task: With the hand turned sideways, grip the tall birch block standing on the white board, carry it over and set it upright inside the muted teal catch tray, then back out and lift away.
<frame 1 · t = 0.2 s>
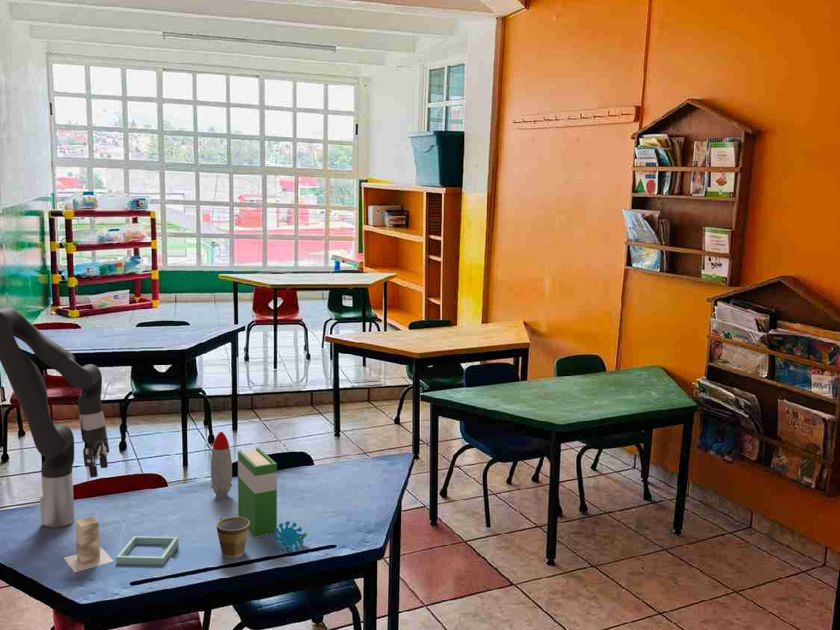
hand: (99, 472, 246), 18 cm above the table, tool pointing down, fingers open, 8 cm apart
ceramic cup: (230, 552, 231), on the table
toy rocket: (221, 497, 274), on the table
white board: (88, 564, 221), on the table
teal virus model: (290, 548, 236), on the table
hardback book: (257, 525, 251), on the table
catch tray: (148, 557, 226), on the table
birch block: (88, 559, 221), point 1 cm above the table, touching white board
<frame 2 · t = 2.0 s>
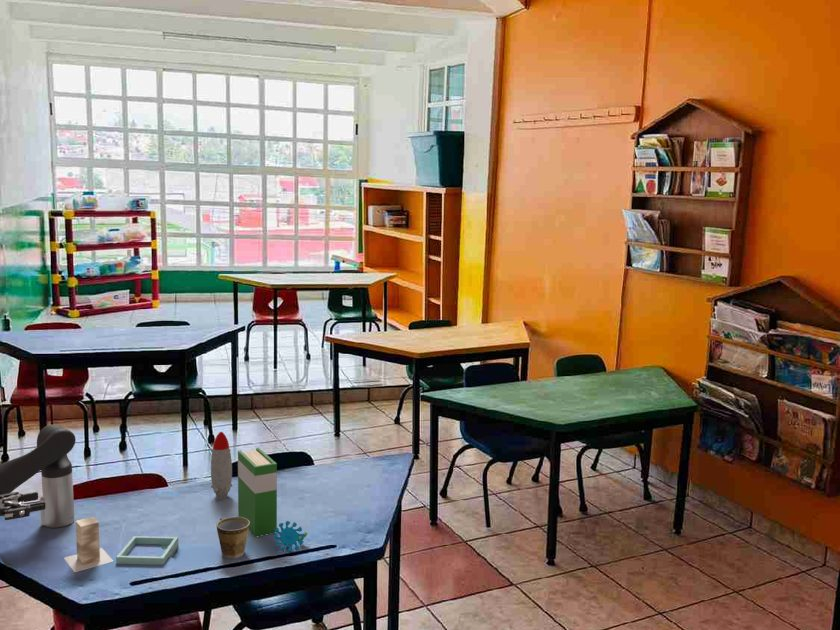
hand: (41, 500, 210), 23 cm above the table, tool horizontal, fingers open, 8 cm apart
nothing on the table moved.
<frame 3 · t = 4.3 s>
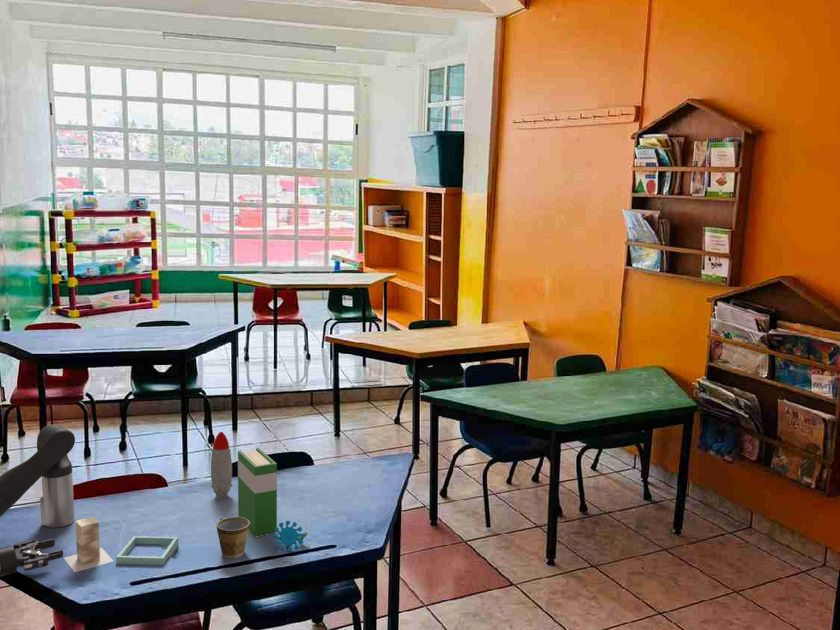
hand: (58, 547, 214), 8 cm above the table, tool horizontal, fingers open, 8 cm apart
nothing on the table moved.
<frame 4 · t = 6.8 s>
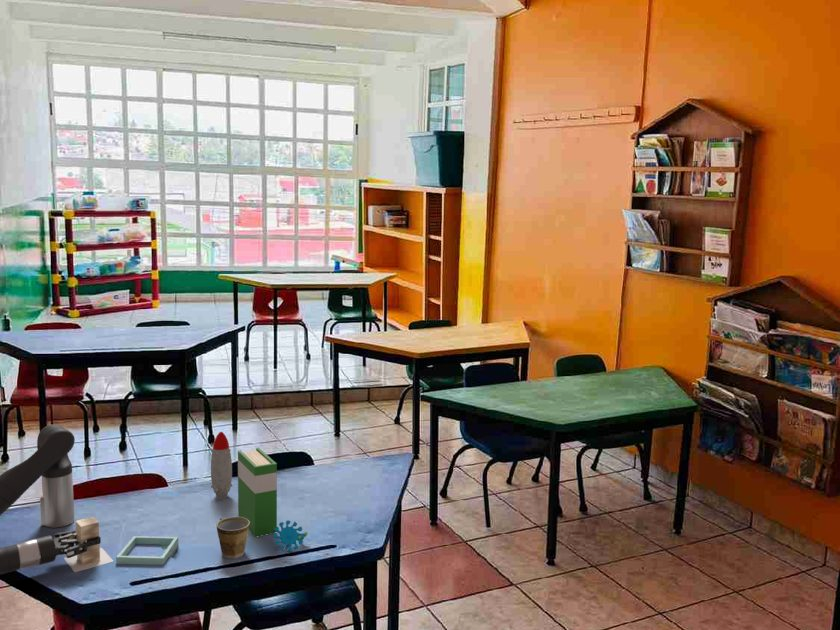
hand: (96, 536, 221), 8 cm above the table, tool horizontal, fingers closed on birch block, 5 cm apart
birch block: (88, 559, 221), point 1 cm above the table, touching white board, gripper
everything else where it was.
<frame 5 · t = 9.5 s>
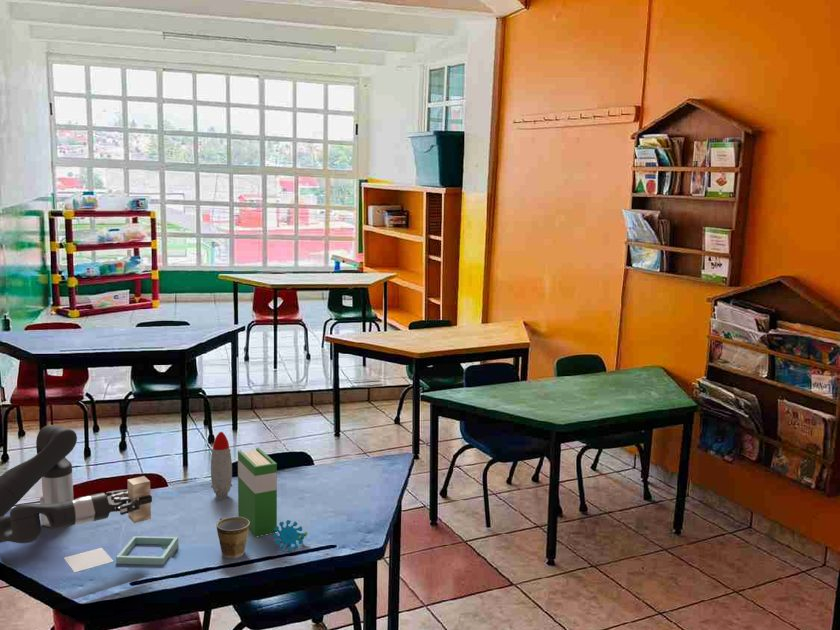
hand: (147, 495, 223), 20 cm above the table, tool horizontal, fingers closed on birch block, 5 cm apart
birch block: (139, 518, 223), point 13 cm above the table, touching gripper
everything else where it was.
when the fingers open (9 cm above the table, at t = 12.2 s): birch block drops 1 cm, resting on catch tray.
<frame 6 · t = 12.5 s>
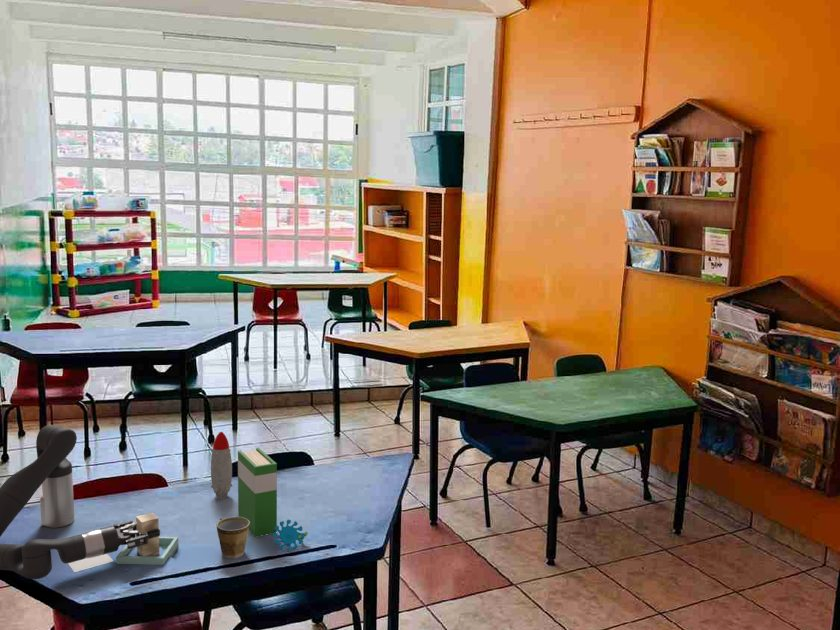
hand: (154, 527, 226), 9 cm above the table, tool horizontal, fingers open, 7 cm apart
birch block: (148, 554, 226), point 1 cm above the table, touching catch tray
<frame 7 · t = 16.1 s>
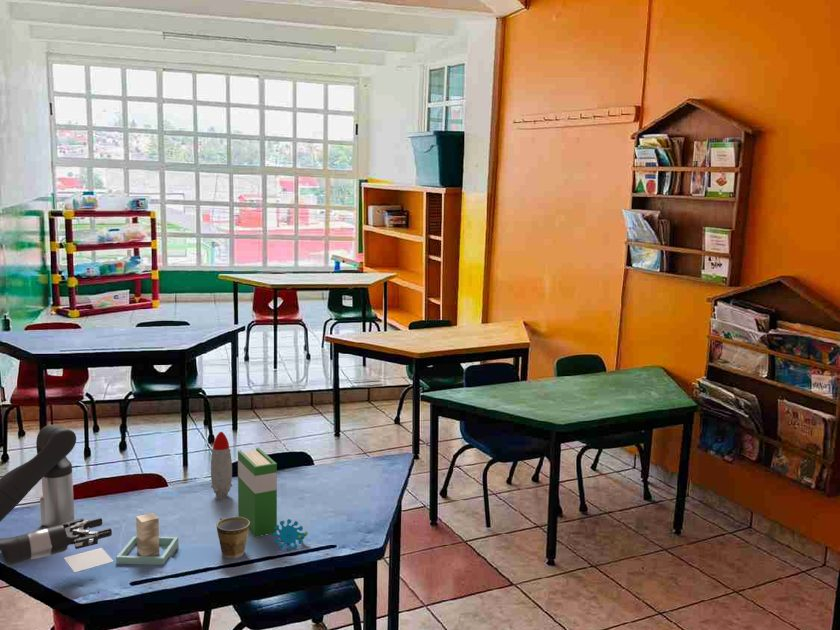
hand: (106, 526, 216), 14 cm above the table, tool horizontal, fingers open, 8 cm apart
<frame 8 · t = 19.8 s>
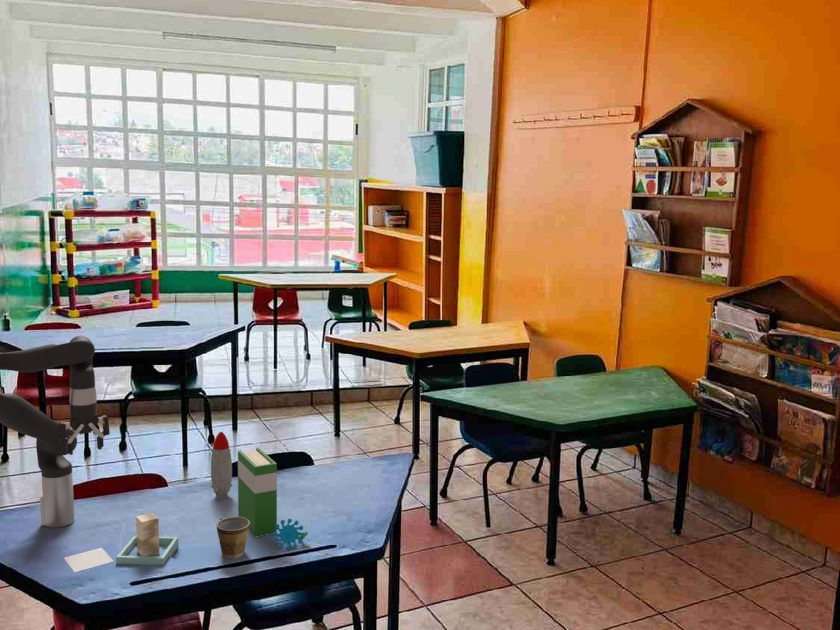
hand: (85, 451, 230), 30 cm above the table, tool pointing down, fingers open, 8 cm apart
at the end: birch block inside the target area on the catch tray (0.1 cm from its centre), point 1.0 cm above the catch tray's base; birch block tilted 0°; the gripper is holding nothing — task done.
